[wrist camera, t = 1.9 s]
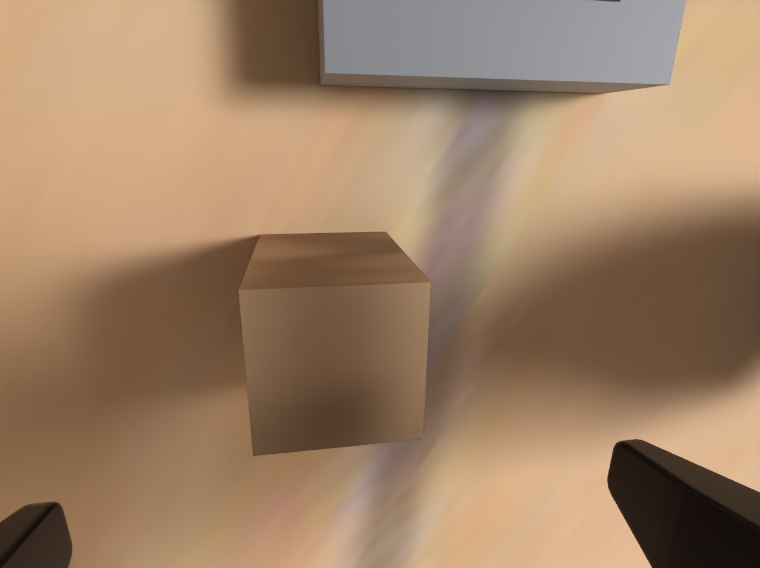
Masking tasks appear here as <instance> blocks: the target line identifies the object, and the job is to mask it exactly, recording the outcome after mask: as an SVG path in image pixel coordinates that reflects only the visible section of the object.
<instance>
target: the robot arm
mask: <svg viewBox="0 0 760 568" xmlns="http://www.w3.org/2000/svg"><path fill="white" fill-rule="evenodd" d="M607 482H608V488H609V491H610V493H611V495H612V497H613V499H614V501H615V502H616V504H617V506H618V508H619V510H620V511H621V513H622V515H623V517H624V519H625V520H626V522H627V524H628V526H629V527H630V529H631V531H632V533H633V535H634V536H635V538H636V540H637V542H638V544H639V545H640V547H641V549H642V551H643V552H644V554H645V556H646V558H647V560H648V561H649V563H650V565H651V567H652V568H760V492H758V491H755V490H753V489H751V488H749V487H746V486H744V485H742V484H740V483H737V482H735V481H733V480H731V479H728V478H726V477H724V476H722V475H719V474H717V473H715V472H713V471H710V470H708V469H706V468H704V467H702V466H699V465H697V464H695V463H693V462H690V461H688V460H686V459H684V458H681V457H679V456H677V455H675V454H672V453H670V452H668V451H666V450H663V449H661V448H659V447H657V446H654V445H652V444H650V443H648V442H645V441H643V440H639V439H634V440H624V441H619V442H617V443H616V444H615V446H614V448H613V453H612V458H611V462H610V467H609V472H608V478H607ZM71 556H72V541H71V538H70V534H69V530H68V526H67V522H66V519H65V515H64V511H63V508H62V506H61V505H60V504H59V503H58V502H44V503H34V504H29V505H26V506H23V507H22V508H20V509H19V510H17V511H16V512H14V513H13V514H11V515H10V516H8V517H7V518H6V519H4V520H3V521H1V522H0V568H68V567H69V564H70V560H71Z"/></svg>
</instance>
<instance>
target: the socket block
mask: <svg viewBox="0 0 760 568" xmlns="http://www.w3.org/2000/svg"><path fill="white" fill-rule="evenodd" d="M685 3H686V0H318V21H319V57H320V85H336V86H370V87H404V88H438V89H473V90H507V91H541V92H576V93H611V92H618V91H626V90H633V89H640V88H648V87H655V86H662V85H670V80H671V75H672V70H673V65H674V59H675V54H676V49H677V44H678V39H679V34H680V29H681V23H682V18H683V13H684V8H685Z"/></svg>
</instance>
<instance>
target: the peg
mask: <svg viewBox="0 0 760 568" xmlns="http://www.w3.org/2000/svg"><path fill="white" fill-rule="evenodd" d="M430 290H431V282H430V281H429V280H428V278H427V277H426V276H425V275H424V274H423V273H422V272H421V271H420V269H419V268H418V267H417V266H416V265H415V264H414V263H413V262H412V261H411V259H410V258H409V257H408V256H407V255H406V254H405V253H404V252H403V250H402V249H401V248H400V247H399V246H398V245H397V244H396V243H395V242H394V240H393V239H392V238H391V237H390V236H389V235H388V234H387V233H386V232H353V233H309V234H264V235H260V237H259V239H258V242H257V244H256V247H255V249H254V252H253V254H252V257H251V259H250V262H249V264H248V267H247V270H246V272H245V275H244V277H243V280H242V282H241V285H240V287H239V290H238V293H239V304H240V315H241V326H242V337H243V348H244V358H245V369H246V380H247V391H248V402H249V413H250V424H251V435H252V446H253V456H257V455H267V454H277V453H287V452H297V451H307V450H317V449H327V448H337V447H347V446H357V445H367V444H377V443H387V442H397V441H407V440H417V439H423V433H424V413H425V392H426V372H427V352H428V331H429V311H430Z"/></svg>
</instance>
